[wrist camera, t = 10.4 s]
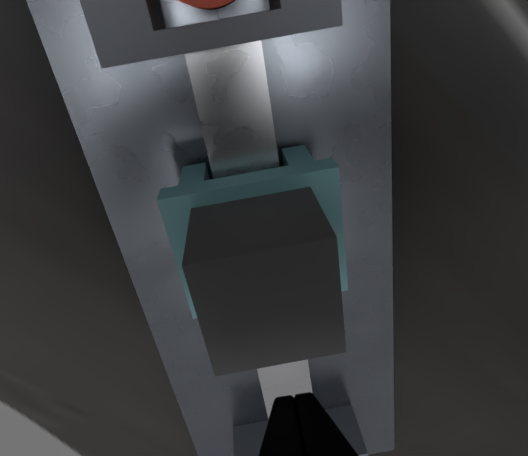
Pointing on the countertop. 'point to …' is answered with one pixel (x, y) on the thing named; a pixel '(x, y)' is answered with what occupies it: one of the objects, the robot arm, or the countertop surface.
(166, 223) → the carriage
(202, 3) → the button
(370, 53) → the rail base
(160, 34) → the windowed grey end block
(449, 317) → the countertop surface
